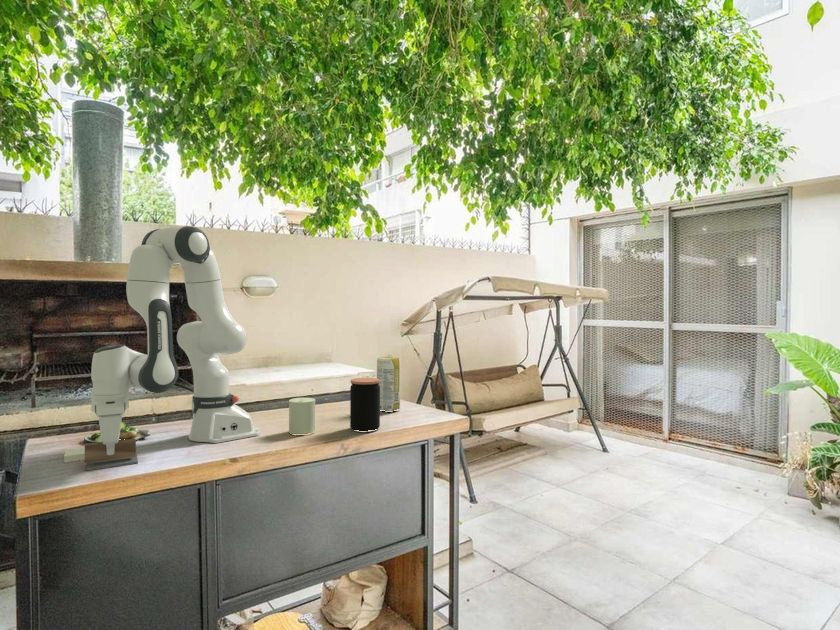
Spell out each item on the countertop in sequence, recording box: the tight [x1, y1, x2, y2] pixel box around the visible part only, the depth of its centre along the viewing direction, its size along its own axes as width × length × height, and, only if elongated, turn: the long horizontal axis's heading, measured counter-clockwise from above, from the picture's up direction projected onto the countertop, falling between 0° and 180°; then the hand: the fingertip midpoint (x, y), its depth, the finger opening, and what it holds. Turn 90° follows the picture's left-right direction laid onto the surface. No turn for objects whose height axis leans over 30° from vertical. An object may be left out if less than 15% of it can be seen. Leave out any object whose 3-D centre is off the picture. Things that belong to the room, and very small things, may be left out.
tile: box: [63, 446, 85, 463], centre depth 144 cm, size 7×2×8 cm
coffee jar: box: [349, 377, 381, 431], centre depth 178 cm, size 11×11×18 cm
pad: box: [85, 454, 139, 472], centre depth 138 cm, size 12×7×1 cm, turn 122°
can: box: [288, 397, 316, 434], centre depth 173 cm, size 9×9×12 cm
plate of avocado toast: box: [83, 421, 151, 444], centre depth 164 cm, size 19×18×5 cm
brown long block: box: [84, 438, 137, 464], centre depth 138 cm, size 3×12×4 cm, turn 122°
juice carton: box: [376, 353, 401, 411], centre depth 209 cm, size 9×8×24 cm
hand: (110, 452), depth 138 cm, fingers closed on brown long block, 3 cm apart
